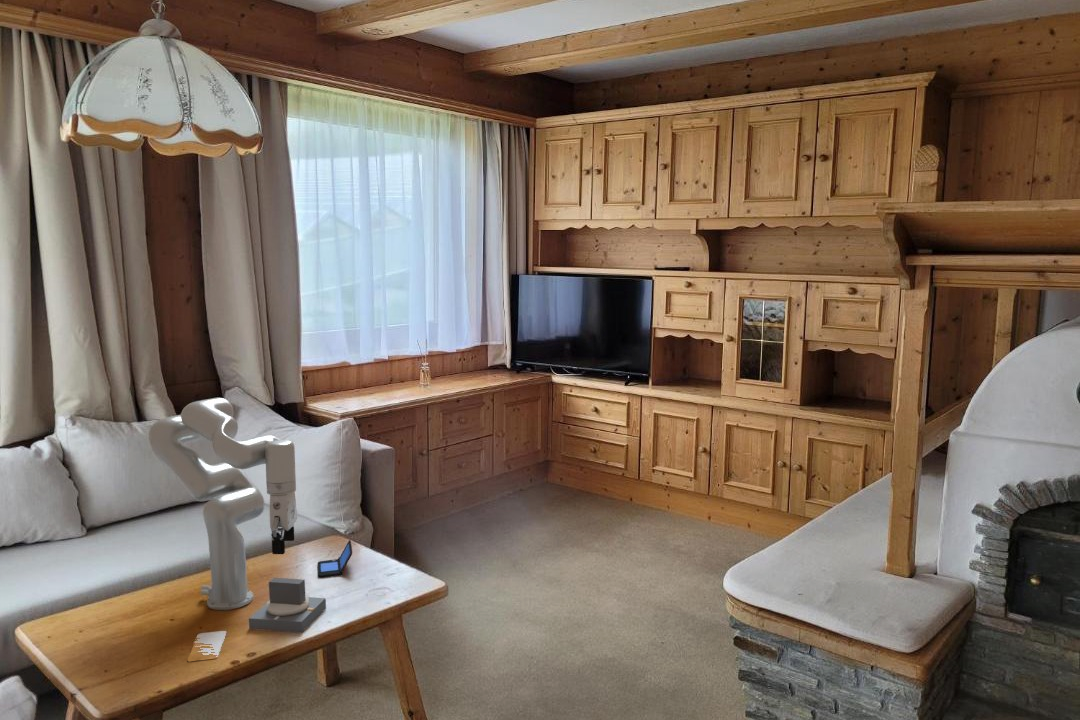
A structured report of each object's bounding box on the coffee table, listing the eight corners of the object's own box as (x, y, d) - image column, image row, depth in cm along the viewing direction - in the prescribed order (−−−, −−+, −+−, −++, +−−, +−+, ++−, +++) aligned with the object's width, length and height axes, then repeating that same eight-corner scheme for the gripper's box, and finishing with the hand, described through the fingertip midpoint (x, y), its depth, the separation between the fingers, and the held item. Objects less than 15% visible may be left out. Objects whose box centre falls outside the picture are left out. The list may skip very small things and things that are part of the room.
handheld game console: (317, 564, 261) (316, 542, 260) (351, 561, 264) (350, 539, 263) (317, 579, 249) (316, 556, 248) (353, 575, 252) (352, 552, 251)
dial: (259, 614, 217) (257, 587, 216) (279, 597, 227) (278, 571, 226) (297, 617, 215) (295, 590, 214) (315, 599, 225) (314, 574, 224)
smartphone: (185, 661, 198) (197, 633, 212) (186, 664, 198) (198, 636, 212) (217, 658, 199) (227, 630, 214) (217, 661, 199) (227, 633, 214)
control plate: (249, 628, 215) (248, 617, 215) (276, 605, 230) (275, 594, 230) (301, 632, 213) (301, 621, 212) (326, 608, 227) (325, 597, 227)
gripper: (286, 495, 208) (289, 559, 211) (303, 477, 225) (305, 535, 228) (257, 496, 208) (260, 559, 210) (276, 477, 225) (278, 536, 227)
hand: (283, 547), depth 219 cm, fingers open, 9 cm apart
